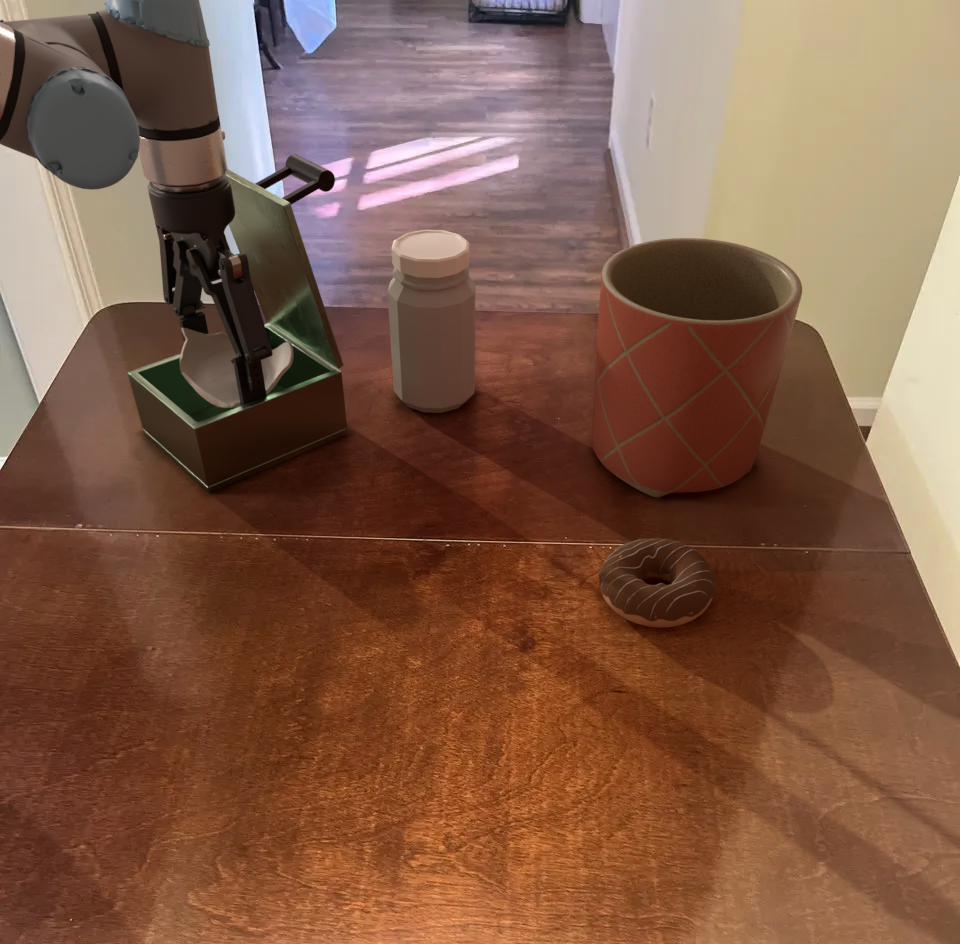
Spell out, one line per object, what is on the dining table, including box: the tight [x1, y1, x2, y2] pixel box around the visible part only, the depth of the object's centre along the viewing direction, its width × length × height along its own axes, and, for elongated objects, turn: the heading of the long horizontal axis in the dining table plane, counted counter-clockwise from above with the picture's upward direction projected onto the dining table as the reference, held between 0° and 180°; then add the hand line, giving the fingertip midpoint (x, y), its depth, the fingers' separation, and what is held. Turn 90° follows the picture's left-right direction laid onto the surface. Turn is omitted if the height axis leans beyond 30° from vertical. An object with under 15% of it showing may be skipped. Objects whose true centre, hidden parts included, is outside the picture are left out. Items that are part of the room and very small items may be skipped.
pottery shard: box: [180, 328, 294, 408], centre depth 105 cm, size 10×11×5 cm
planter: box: [591, 237, 803, 498], centre depth 101 cm, size 19×19×20 cm
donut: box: [597, 537, 716, 629], centre depth 90 cm, size 11×11×4 cm
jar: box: [387, 229, 476, 414], centre depth 110 cm, size 10×10×18 cm
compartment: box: [127, 322, 348, 494], centre depth 108 cm, size 18×15×8 cm
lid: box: [225, 153, 344, 370], centre depth 103 cm, size 18×15×8 cm
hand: (228, 391), depth 106 cm, fingers closed on pottery shard, 10 cm apart
